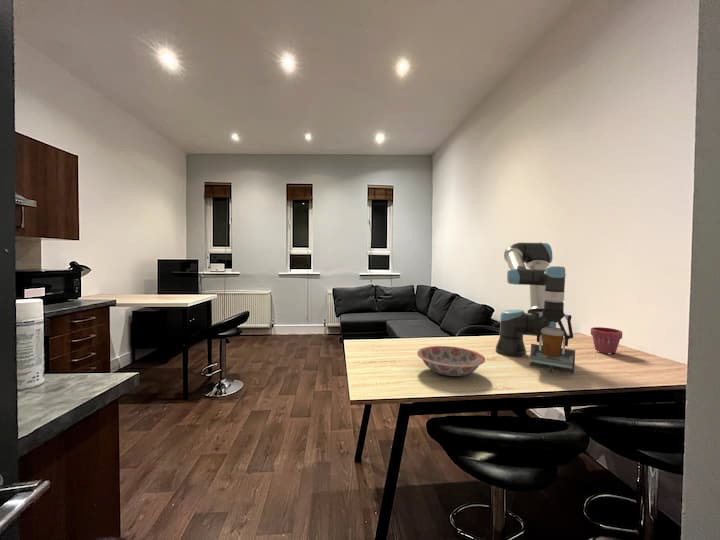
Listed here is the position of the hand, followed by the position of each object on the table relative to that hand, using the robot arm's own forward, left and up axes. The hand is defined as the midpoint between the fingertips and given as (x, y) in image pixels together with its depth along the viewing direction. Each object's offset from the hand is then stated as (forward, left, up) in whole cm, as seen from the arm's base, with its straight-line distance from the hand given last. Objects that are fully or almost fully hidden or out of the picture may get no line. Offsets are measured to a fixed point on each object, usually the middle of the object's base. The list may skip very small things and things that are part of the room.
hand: (551, 351), depth 148 cm
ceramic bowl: (-38, -25, -10) cm, 47 cm away
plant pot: (+24, +59, -10) cm, 64 cm away
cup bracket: (0, +3, -10) cm, 11 cm away
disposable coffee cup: (0, 0, -2) cm, 2 cm away
